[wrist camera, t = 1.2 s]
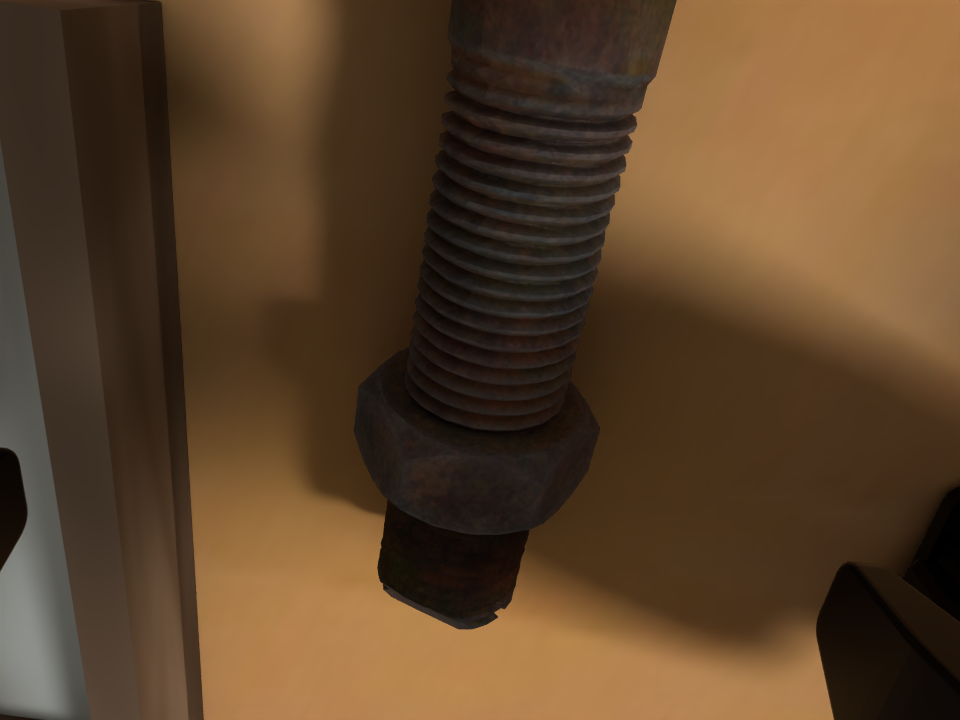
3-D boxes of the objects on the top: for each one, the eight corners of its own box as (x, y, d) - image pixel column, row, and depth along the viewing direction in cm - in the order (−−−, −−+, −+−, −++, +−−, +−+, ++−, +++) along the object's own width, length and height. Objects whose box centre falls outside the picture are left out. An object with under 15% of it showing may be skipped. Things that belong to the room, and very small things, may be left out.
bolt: (430, 481, 21) (543, -161, 14) (591, 573, 19) (820, -125, 12) (274, 602, 17) (322, -253, 10) (462, 737, 15) (703, -219, 8)
